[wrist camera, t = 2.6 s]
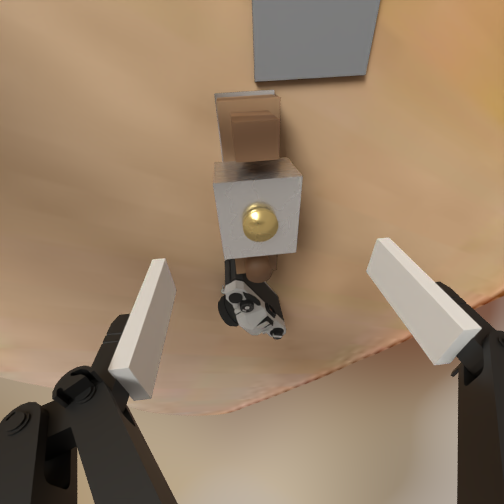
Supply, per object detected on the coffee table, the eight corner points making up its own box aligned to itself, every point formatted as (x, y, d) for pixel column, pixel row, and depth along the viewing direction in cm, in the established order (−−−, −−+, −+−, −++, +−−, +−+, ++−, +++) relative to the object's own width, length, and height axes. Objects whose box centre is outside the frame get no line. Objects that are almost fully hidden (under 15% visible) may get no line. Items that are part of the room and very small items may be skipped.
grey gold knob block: (224, 230, 25) (224, 265, 20) (214, 162, 20) (212, 187, 16) (284, 224, 25) (298, 257, 20) (287, 156, 21) (305, 179, 16)
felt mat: (254, 81, 21) (255, 81, 20) (249, -87, 15) (249, -92, 15) (362, 74, 21) (365, 74, 21) (393, -90, 16) (399, -95, 15)
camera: (194, 275, 34) (190, 330, 28) (236, 247, 32) (242, 301, 25) (247, 310, 42) (254, 360, 35) (283, 290, 40) (298, 340, 33)
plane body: (272, 250, 33) (286, 302, 25) (233, 254, 32) (237, 308, 25) (273, 89, 21) (300, 97, 14) (214, 93, 21) (209, 103, 14)
